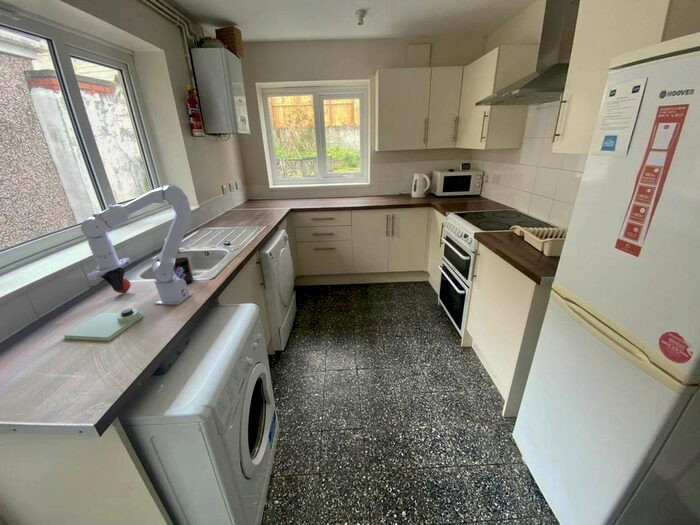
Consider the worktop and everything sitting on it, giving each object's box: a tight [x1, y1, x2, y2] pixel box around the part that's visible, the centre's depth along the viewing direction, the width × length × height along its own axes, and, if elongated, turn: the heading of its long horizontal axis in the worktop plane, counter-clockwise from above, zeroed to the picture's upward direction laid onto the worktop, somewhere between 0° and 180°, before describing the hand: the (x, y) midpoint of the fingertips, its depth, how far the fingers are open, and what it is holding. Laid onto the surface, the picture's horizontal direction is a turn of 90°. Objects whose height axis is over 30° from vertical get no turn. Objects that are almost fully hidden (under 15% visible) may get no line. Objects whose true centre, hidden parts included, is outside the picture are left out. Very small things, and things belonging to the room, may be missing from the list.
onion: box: [112, 277, 132, 294], centre depth 117 cm, size 6×6×8 cm
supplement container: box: [174, 256, 195, 285], centre depth 124 cm, size 7×7×10 cm
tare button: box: [120, 308, 133, 317], centre depth 97 cm, size 3×3×2 cm
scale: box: [63, 308, 143, 342], centre depth 95 cm, size 16×13×3 cm
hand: (119, 289), depth 100 cm, fingers closed
